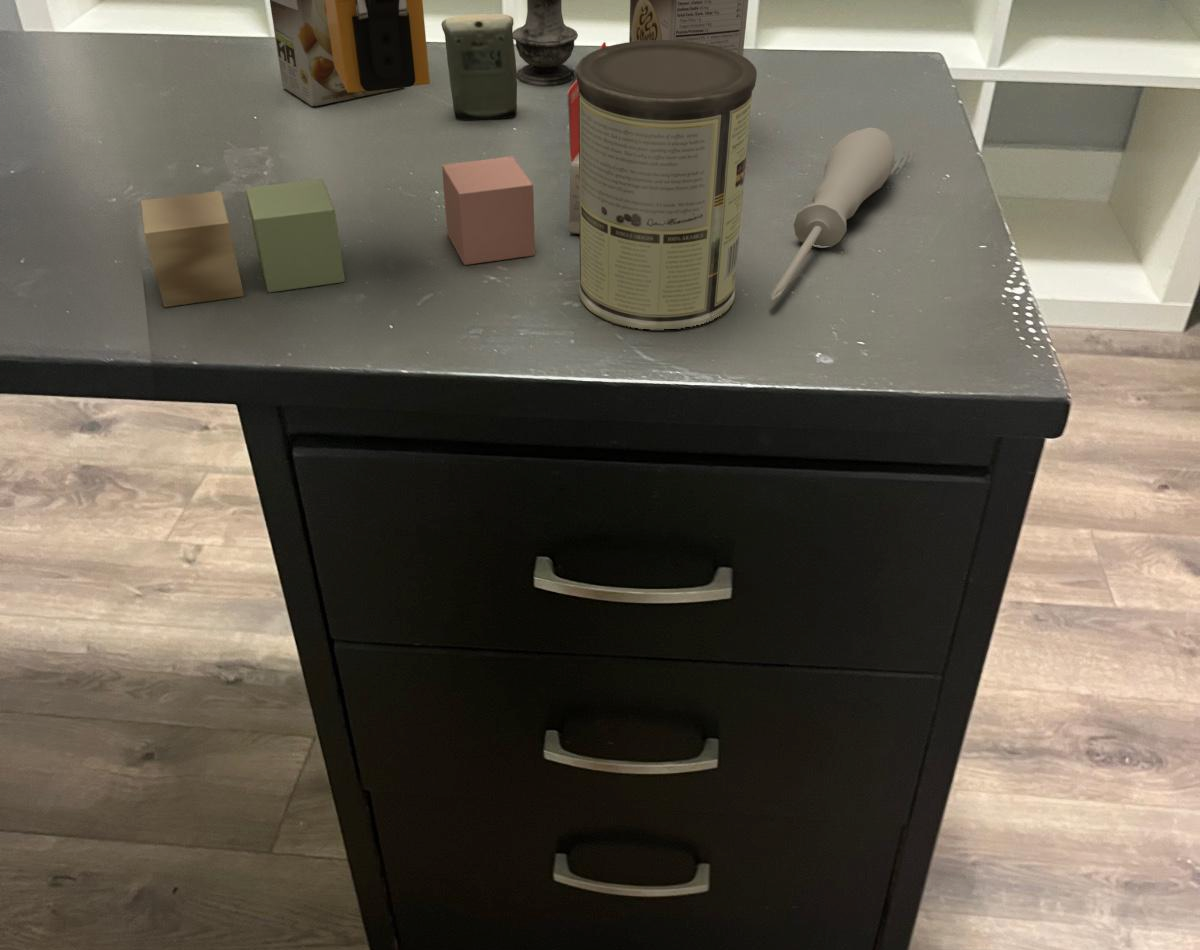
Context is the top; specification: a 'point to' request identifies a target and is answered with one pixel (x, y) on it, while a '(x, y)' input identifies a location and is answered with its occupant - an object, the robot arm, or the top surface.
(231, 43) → the top surface
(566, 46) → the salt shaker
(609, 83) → the coffee can
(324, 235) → the row block
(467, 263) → the row block
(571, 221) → the ink cartridge box
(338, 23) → the orange block
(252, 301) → the top surface
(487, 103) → the grey upright labelled block
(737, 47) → the coffee box
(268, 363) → the top surface
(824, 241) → the screwdriver
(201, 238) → the row block
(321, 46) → the coffee box
